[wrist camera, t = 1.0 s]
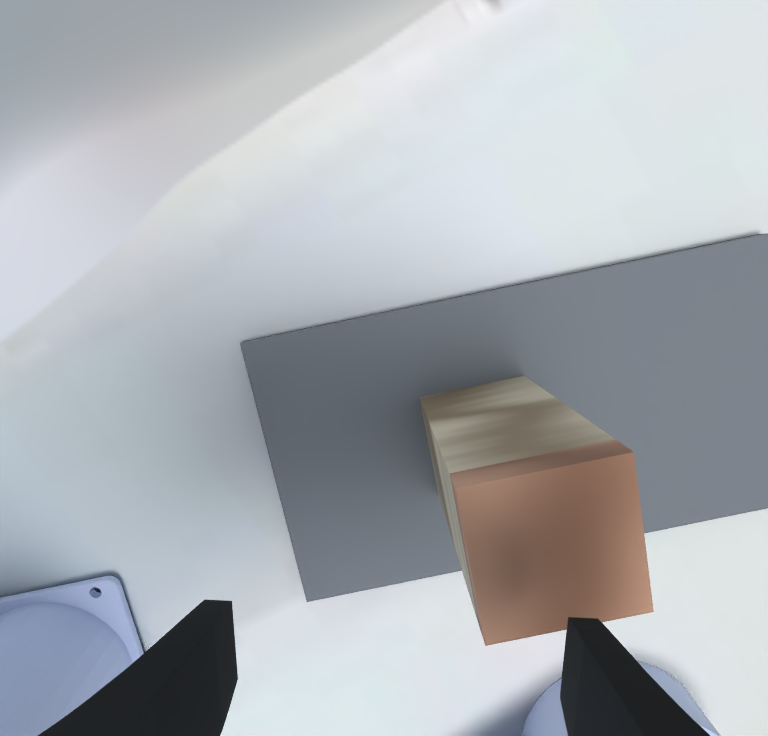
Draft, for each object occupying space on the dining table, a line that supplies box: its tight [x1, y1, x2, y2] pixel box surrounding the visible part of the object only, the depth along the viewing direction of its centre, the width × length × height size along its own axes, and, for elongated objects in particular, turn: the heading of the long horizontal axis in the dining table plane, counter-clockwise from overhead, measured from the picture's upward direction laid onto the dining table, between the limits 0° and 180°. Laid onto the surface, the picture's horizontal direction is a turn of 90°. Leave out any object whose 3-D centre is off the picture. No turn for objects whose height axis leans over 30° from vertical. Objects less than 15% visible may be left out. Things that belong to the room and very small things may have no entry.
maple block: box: [419, 376, 653, 646], centre depth 18 cm, size 4×4×10 cm
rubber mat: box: [240, 234, 768, 602], centre depth 23 cm, size 22×12×1 cm, turn 102°
